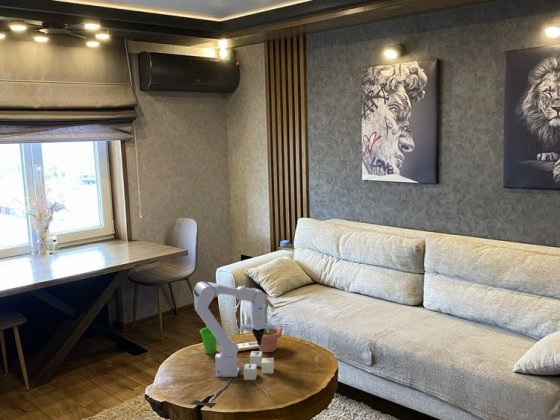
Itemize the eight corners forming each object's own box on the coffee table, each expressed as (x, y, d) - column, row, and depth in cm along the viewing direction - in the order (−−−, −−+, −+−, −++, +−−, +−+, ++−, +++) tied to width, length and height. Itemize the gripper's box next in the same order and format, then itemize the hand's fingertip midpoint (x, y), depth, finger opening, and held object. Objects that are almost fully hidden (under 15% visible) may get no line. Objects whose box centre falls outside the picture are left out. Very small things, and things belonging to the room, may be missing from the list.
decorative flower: (286, 353, 269) (284, 293, 264) (258, 358, 265) (255, 297, 260) (278, 341, 283) (275, 284, 278) (251, 345, 280) (248, 287, 274)
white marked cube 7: (250, 366, 258) (249, 355, 257) (251, 361, 263) (251, 351, 262) (261, 366, 257) (260, 355, 256) (262, 361, 262) (262, 351, 261)
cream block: (261, 373, 250) (261, 362, 249) (263, 368, 255) (262, 358, 254) (273, 373, 250) (272, 362, 249) (274, 368, 255) (273, 357, 254)
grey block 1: (244, 380, 245) (243, 369, 244) (245, 374, 250) (245, 363, 249) (255, 380, 245) (254, 369, 244) (257, 374, 249) (256, 363, 249)
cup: (199, 349, 278) (198, 328, 276) (218, 346, 280) (216, 325, 278) (203, 357, 269) (201, 335, 267) (221, 354, 272) (220, 332, 270)
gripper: (240, 319, 251) (242, 348, 253) (273, 318, 250) (274, 347, 253) (242, 313, 258) (244, 341, 260) (274, 312, 257) (275, 341, 259)
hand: (259, 344), depth 257 cm, fingers closed
